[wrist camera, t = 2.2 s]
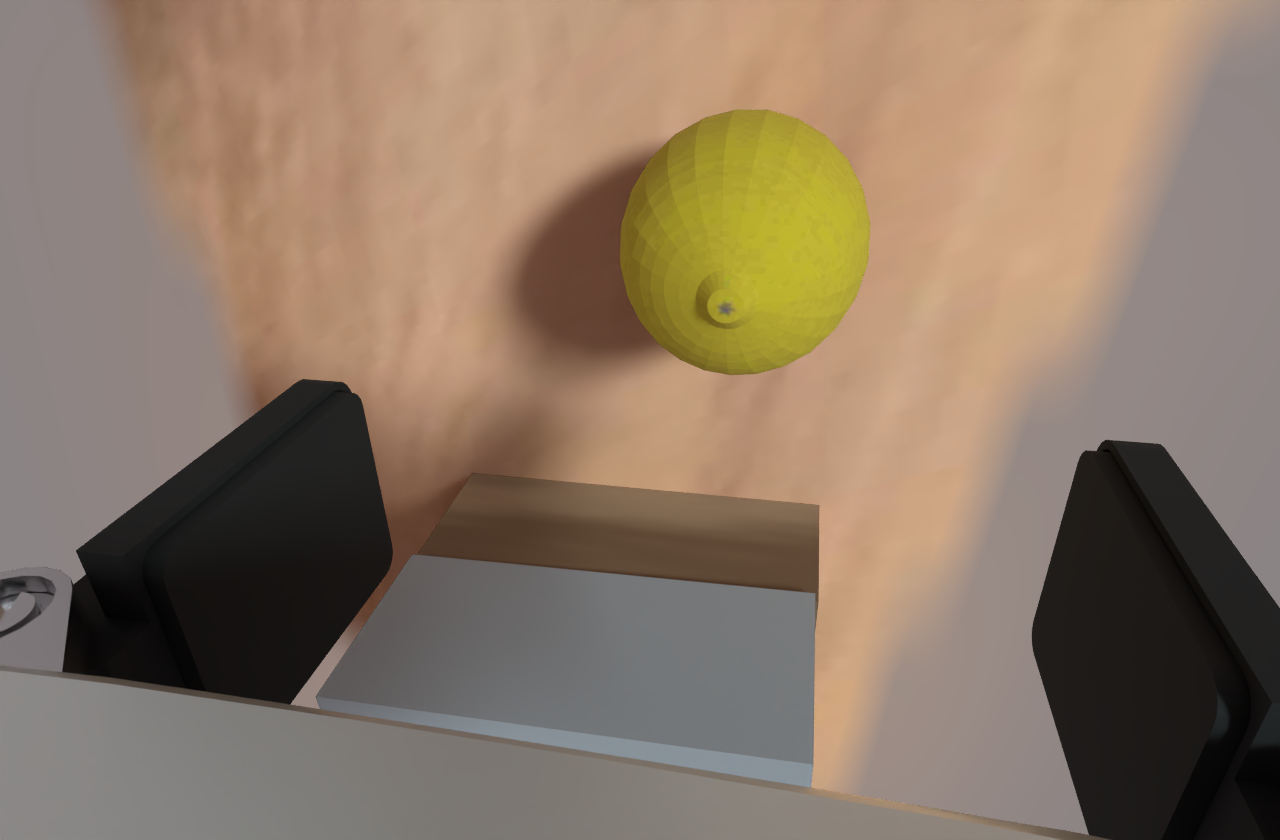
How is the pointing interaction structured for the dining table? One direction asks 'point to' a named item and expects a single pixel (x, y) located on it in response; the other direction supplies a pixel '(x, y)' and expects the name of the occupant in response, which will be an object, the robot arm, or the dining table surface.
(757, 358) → the lemon
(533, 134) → the dining table surface
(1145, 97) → the dining table surface
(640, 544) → the tower bottom block
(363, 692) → the tower top block
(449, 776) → the robot arm
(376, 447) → the dining table surface
